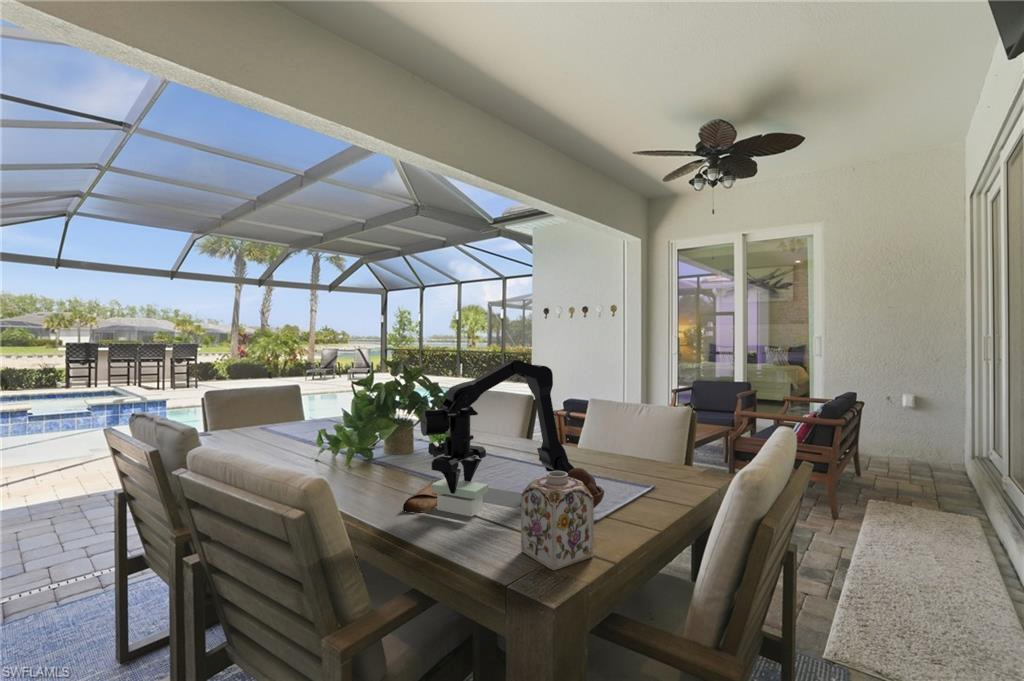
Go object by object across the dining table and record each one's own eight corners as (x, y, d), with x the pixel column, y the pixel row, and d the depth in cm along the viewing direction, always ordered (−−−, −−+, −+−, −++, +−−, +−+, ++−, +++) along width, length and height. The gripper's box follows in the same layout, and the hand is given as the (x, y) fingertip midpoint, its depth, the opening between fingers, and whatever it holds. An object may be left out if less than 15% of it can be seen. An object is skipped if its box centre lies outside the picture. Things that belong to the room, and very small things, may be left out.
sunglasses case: (431, 514, 131) (419, 492, 131) (411, 526, 132) (399, 503, 133) (455, 493, 148) (444, 473, 149) (436, 503, 150) (426, 484, 150)
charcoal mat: (533, 497, 145) (533, 495, 145) (515, 510, 134) (515, 507, 134) (481, 488, 153) (481, 486, 153) (460, 500, 142) (460, 497, 142)
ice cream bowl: (604, 537, 116) (604, 474, 116) (557, 533, 118) (557, 472, 118) (604, 520, 127) (604, 463, 126) (561, 517, 129) (561, 460, 129)
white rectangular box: (482, 511, 133) (482, 495, 133) (471, 518, 128) (471, 501, 128) (448, 505, 138) (448, 489, 138) (437, 511, 133) (437, 495, 133)
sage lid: (488, 491, 133) (488, 484, 133) (475, 499, 127) (475, 491, 127) (445, 484, 139) (445, 477, 139) (431, 491, 133) (431, 484, 133)
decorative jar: (595, 557, 106) (595, 475, 106) (554, 573, 99) (554, 484, 99) (558, 538, 116) (559, 463, 115) (519, 551, 109) (519, 471, 109)
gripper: (454, 424, 145) (454, 476, 145) (414, 436, 128) (414, 495, 128) (486, 427, 140) (486, 481, 140) (449, 440, 123) (450, 501, 123)
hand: (460, 489), depth 133 cm, fingers closed on sage lid, 7 cm apart
